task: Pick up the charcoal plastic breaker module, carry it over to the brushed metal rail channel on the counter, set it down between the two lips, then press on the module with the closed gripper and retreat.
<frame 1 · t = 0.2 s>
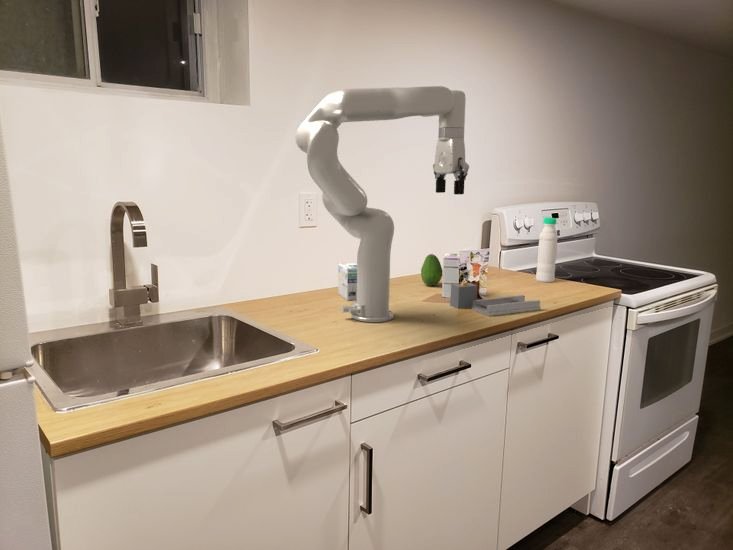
hand: (449, 193, 168), 36 cm above the worktop, tool pointing down, fingers open, 9 cm apart
module: (463, 306, 179), on the worktop
avocado: (431, 286, 209), on the worktop
milk bottle: (544, 281, 222), on the worktop
syrup box: (450, 296, 193), on the worktop
rail: (506, 309, 176), on the worktop
light bulb box: (351, 297, 189), on the worktop
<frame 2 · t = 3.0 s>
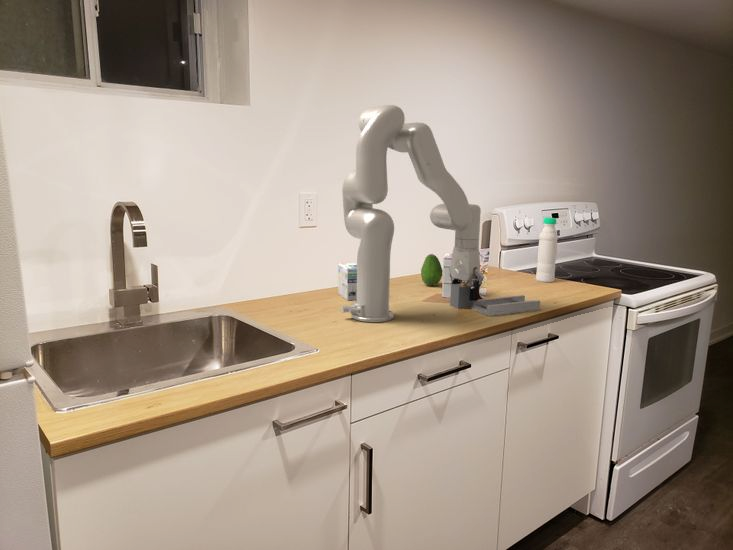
hand: (464, 296, 179), 3 cm above the worktop, tool pointing down, fingers open, 9 cm apart
nothing on the worktop moved.
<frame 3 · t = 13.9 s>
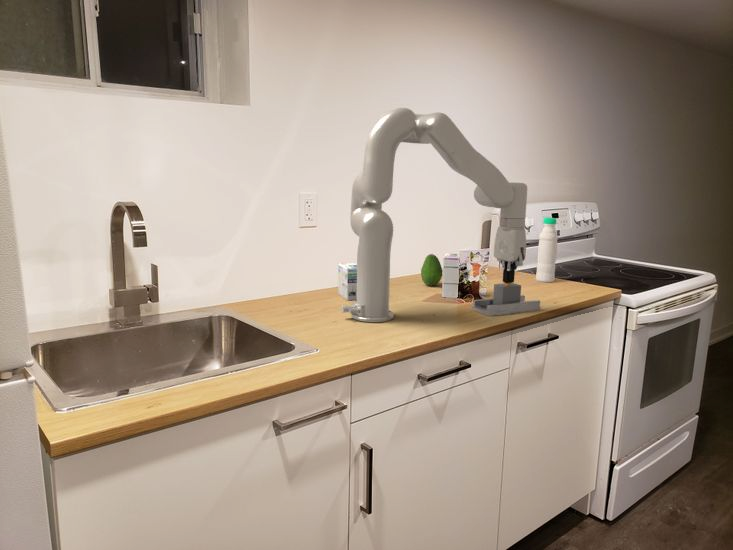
hand: (508, 282, 174), 9 cm above the worktop, tool pointing down, fingers closed
module: (506, 306, 176), point 1 cm above the worktop, touching gripper, rail
everything else where it was.
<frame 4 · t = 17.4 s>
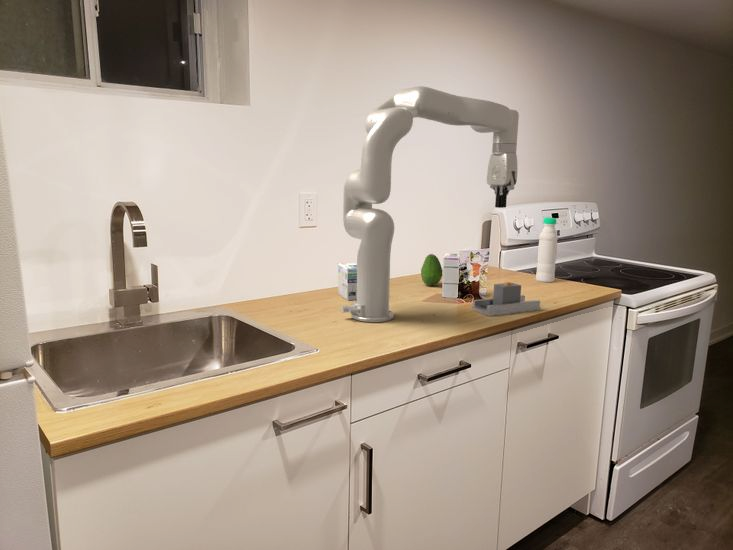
hand: (500, 207, 182), 31 cm above the worktop, tool pointing down, fingers closed
module: (506, 306, 176), point 1 cm above the worktop, touching rail
everything else where it was.
at the end: module inside the target area on the rail (0.1 cm from its centre), point 1.0 cm above the rail's base; module tilted 0°; the gripper is holding nothing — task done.
